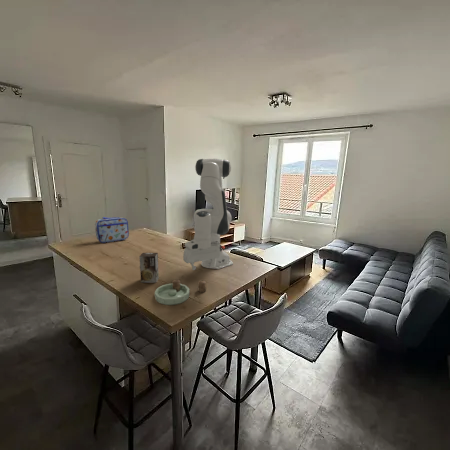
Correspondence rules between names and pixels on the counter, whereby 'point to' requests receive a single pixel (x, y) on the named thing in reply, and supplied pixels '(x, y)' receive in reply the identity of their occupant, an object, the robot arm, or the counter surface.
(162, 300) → the tray
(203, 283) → the brown short cylinder
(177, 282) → the bead
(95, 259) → the counter surface
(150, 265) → the coffee box
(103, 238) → the lunch box
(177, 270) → the counter surface
